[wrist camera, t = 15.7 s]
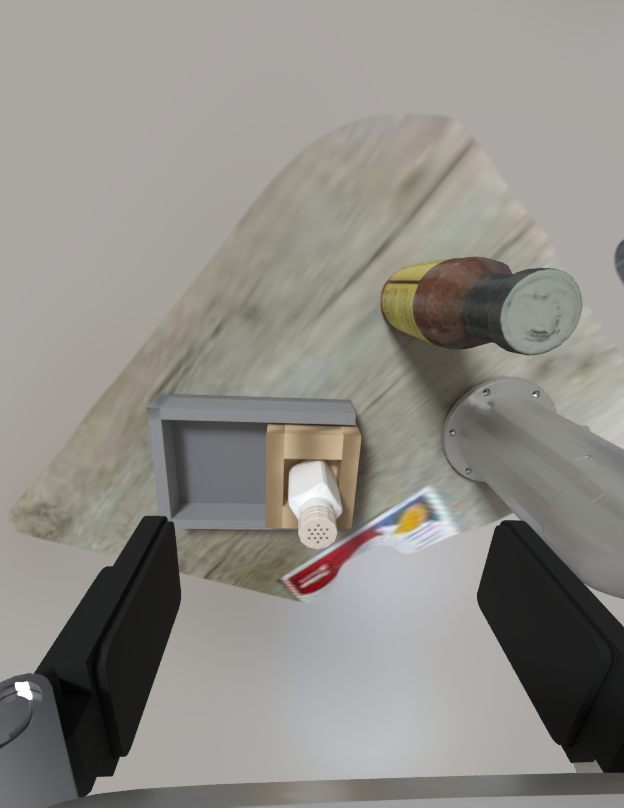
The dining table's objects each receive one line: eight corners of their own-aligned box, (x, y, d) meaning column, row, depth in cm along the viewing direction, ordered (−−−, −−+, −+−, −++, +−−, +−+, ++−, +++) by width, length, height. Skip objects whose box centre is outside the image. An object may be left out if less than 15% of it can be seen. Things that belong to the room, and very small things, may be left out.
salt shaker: (319, 449, 37) (327, 505, 28) (338, 478, 39) (351, 540, 30) (286, 467, 38) (284, 527, 29) (305, 494, 39) (308, 560, 30)
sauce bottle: (414, 341, 37) (535, 411, 18) (365, 308, 36) (442, 348, 17) (455, 285, 35) (634, 300, 17) (405, 247, 34) (539, 218, 15)
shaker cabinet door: (354, 418, 38) (361, 436, 34) (345, 503, 42) (351, 529, 38) (269, 415, 38) (266, 433, 34) (268, 502, 42) (265, 528, 37)
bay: (350, 400, 39) (355, 413, 35) (340, 508, 44) (344, 530, 40) (161, 393, 38) (146, 407, 34) (172, 505, 43) (160, 528, 39)
